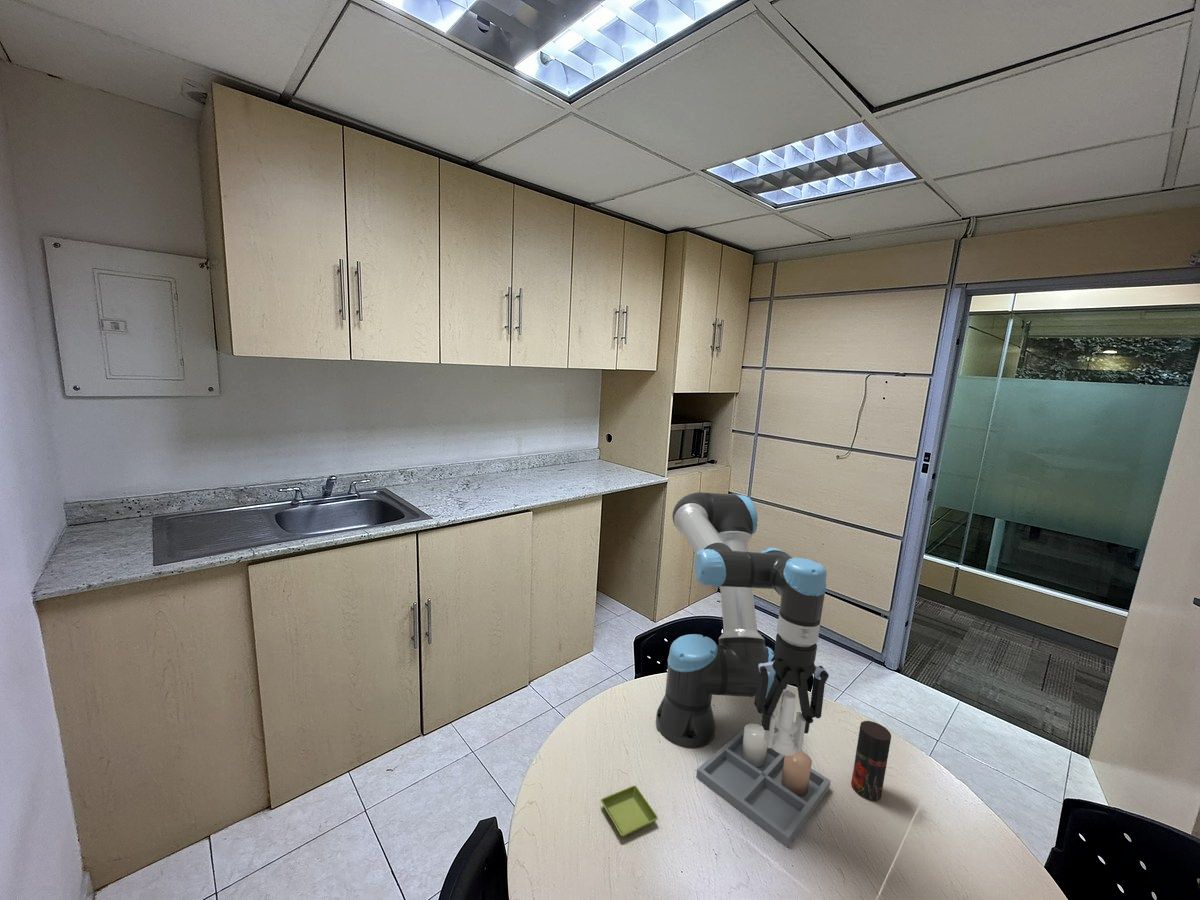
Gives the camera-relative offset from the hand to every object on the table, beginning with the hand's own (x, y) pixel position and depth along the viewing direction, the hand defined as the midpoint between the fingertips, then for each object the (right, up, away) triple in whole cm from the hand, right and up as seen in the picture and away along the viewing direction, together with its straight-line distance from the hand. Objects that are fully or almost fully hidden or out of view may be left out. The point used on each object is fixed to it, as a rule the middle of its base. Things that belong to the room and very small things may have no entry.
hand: (782, 744), depth 96 cm
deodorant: (+22, -17, +9) cm, 29 cm away
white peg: (0, -1, 0) cm, 1 cm away
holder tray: (-1, -15, +9) cm, 17 cm away
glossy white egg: (-1, -14, +16) cm, 21 cm away
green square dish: (-32, -15, -1) cm, 35 cm away
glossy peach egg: (+6, -15, +9) cm, 18 cm away
